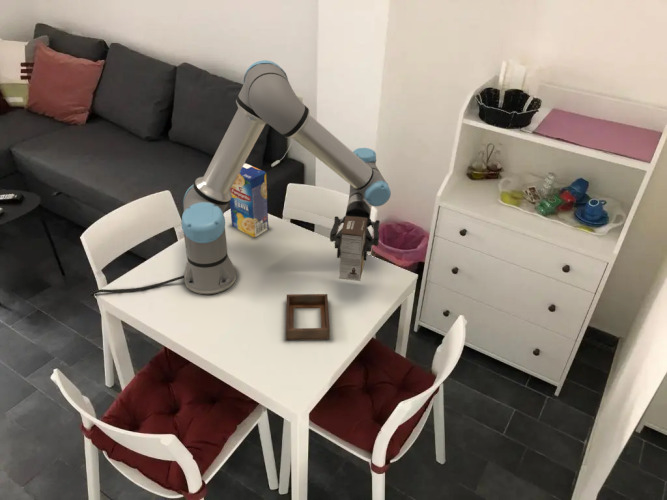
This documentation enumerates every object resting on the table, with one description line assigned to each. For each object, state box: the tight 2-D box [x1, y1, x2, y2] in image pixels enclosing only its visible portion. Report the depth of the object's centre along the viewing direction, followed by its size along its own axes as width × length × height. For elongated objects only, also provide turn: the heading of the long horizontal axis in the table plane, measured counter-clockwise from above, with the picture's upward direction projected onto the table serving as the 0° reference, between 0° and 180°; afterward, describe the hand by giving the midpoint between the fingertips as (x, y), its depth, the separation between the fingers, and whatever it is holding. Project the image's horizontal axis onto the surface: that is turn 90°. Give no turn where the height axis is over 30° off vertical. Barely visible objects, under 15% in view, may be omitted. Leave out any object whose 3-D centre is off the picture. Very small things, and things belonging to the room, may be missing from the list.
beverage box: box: [229, 162, 269, 238], centre depth 181 cm, size 7×11×22 cm, turn 52°
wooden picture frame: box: [285, 293, 331, 341], centre depth 149 cm, size 12×15×4 cm
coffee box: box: [338, 216, 368, 282], centre depth 153 cm, size 9×6×16 cm
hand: (351, 255), depth 148 cm, fingers closed on coffee box, 7 cm apart
